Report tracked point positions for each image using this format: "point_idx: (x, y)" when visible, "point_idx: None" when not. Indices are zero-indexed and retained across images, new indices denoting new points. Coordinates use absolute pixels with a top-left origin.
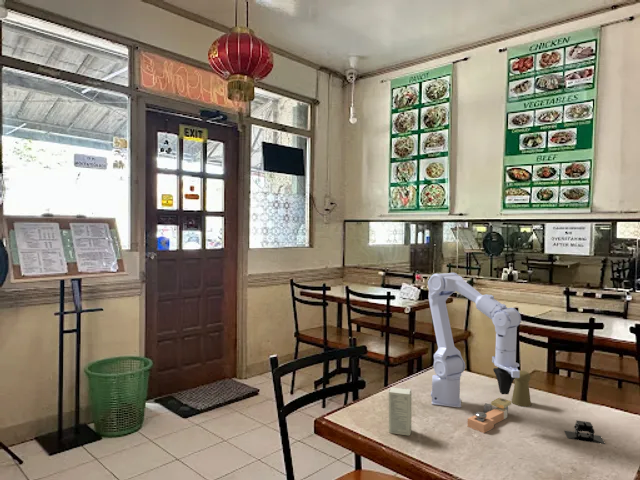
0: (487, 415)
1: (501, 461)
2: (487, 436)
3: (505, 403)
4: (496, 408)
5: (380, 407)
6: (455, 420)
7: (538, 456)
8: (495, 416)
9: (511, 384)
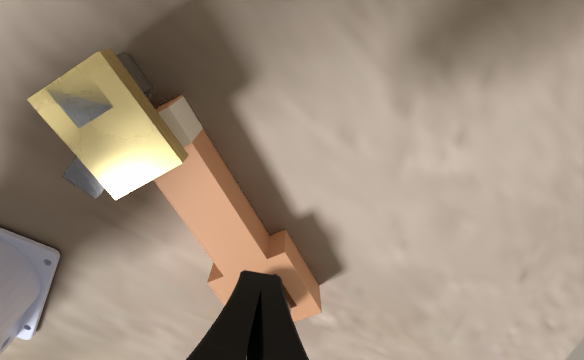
0: (229, 251)
1: (507, 335)
2: (346, 288)
3: (145, 126)
4: None
5: None
6: (193, 321)
7: (552, 211)
8: (241, 218)
9: (304, 352)
